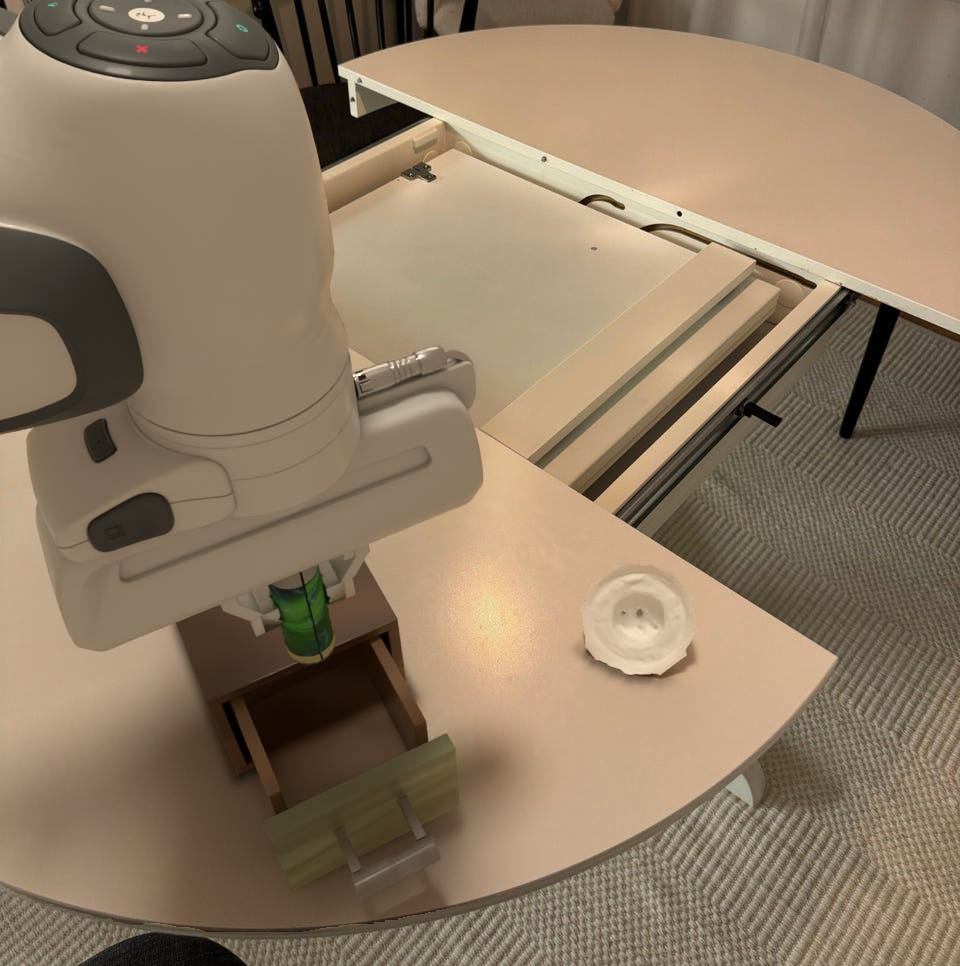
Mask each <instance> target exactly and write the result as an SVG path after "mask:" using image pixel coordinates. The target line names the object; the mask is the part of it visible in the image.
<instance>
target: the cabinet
mask: <svg viewBox="0 0 960 966" xmlns="http://www.w3.org/2000/svg"><path fill="white" fill-rule="evenodd" d="M353 584H354V589H355V595H354V596H352V597H349V598H346V599H344V600H342V601H339V602H337V603H334V604H332V605H328V608H329V613H330V617H331V622H332V626H333V631H334V635H335V647H334V649H333V651H332V653H331V654H330V655H329V656H332V655H334V654H336V653H338V652H341V651H343V650H345V649H348V648H350V647H352V646H354V645H357V644H359V643H361V642H364V641H366V640H368V639H370V638H373V637H375V636H377V635H380V637H381V638H382V640H383V642H384V644H385V646H386V648H387V649H388V651H389V653H390V655H391V657H392V659H393V660H394V662H395V664H396V666H397V668H398V670H399V672H400V673H401V675H402V677H403V679H404V681H405V683H406V684H408V683H407V676H406V669H405V661H404V654H403V647H402V640H401V639H402V638H401V633H400V632H401V631H400V626H399V618H398V617H397V615H396V613H395V612H394V610H393V608H392V606H391V605H390V603H389V601H388V600H387V597H386V596H385V594H384V592H383V590H382V589H381V587H380V585H379V584H378V582H377V580H376V578H375V576H374V575H373V573H372V571H371V569H370V568H369V565H368V564H367V562H366V559H365V560H364V562H363V563H362V565H361V567H360V568H359V570H358V572H357V573H356V575H355V577H353ZM327 604H328V603H327ZM175 624H176V627H177V630H178V632H179V636H180V637H181V641H182V643H183V647H184V649H185V651H186V654H187V657H188V659H189V662H190V664H191V667H192V670H193V673H194V675H195V678H196V681H197V683H198V686H199V688H200V692H201V694H202V696H203V699H204V702H205V705H206V707H207V709H208V711H209V713H210V716H211V718H212V720H213V722H214V725H215V727H216V729H217V732H218V734H219V736H220V738H221V741H222V743H223V746H224V748H225V749H226V752H227V754H228V756H229V758H230V761H231V763H232V765H233V767H234V771H235V772H236V774H237V776H240V775H243V774H244V773H246V772H248V771H250V770H253V769H255V768H256V766H255V764H254V761H253V759H252V756H251V754H250V751H249V748H248V746H247V743H246V741H245V738H244V736H243V733H242V731H241V728H240V726H239V723H238V721H237V718H236V715H235V713H234V710H233V708H232V705H231V703H230V700H231V699H233V698H235V697H238V696H240V695H242V694H245V693H247V692H249V691H251V690H254V689H256V688H258V687H261V686H263V685H265V684H267V683H270V682H272V681H274V680H277V679H279V678H281V677H283V676H286V675H288V674H290V673H293V672H295V671H297V670H299V669H302V668H304V667H306V666H309V665H311V664H301V663H298V662H296V661H295V660H293V659H292V658H291V657H290V655H289V653H288V651H287V648H286V645H285V641H284V638H283V635H282V631H281V628H280V626H279V627H277V628H274V629H272V630H270V631H268V632H265V633H264V634H262V635H259V636H256V635H255V633H254V631H253V628H252V626H251V624H250V621H248V620H245V619H242V618H240V617H237V616H235V615H232V614H230V613H227V612H224V611H223V610H222V607H221V605H218V606H215V607H213V608H210V609H208V610H206V611H203V612H201V613H198V614H196V615H193V616H191V617H188V618H186V619H183V620H181V621H178V622H176V623H175ZM329 656H328V657H329Z"/></svg>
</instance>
